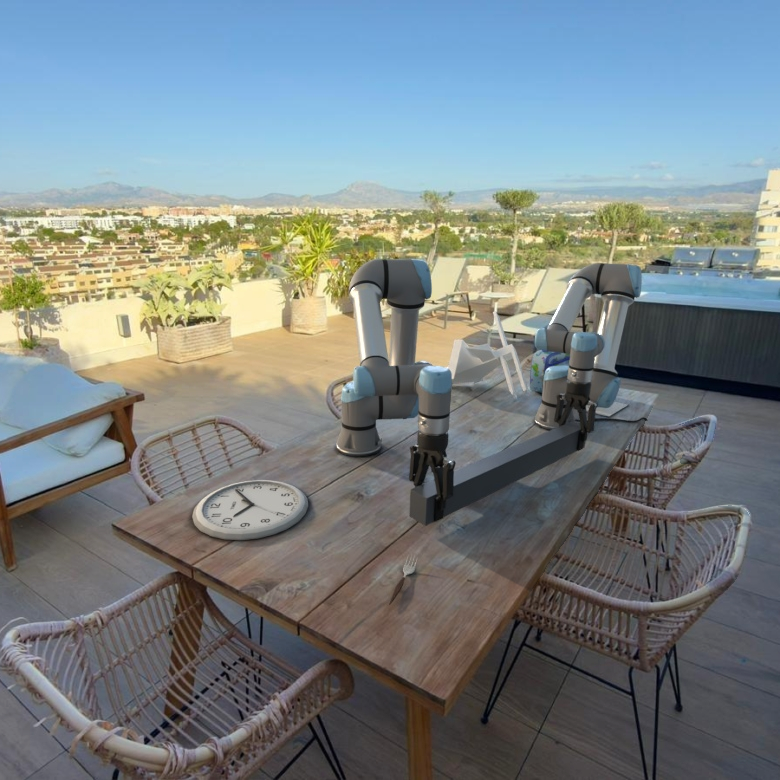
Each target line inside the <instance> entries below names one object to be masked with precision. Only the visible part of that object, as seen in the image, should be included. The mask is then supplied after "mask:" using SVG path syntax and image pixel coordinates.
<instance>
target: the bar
mask: <svg viewBox="0 0 780 780" xmlns="http://www.w3.org/2000/svg"><path fill="white" fill-rule="evenodd" d="M580 431H581V425H580V422H577V421H575V422H573V421H571V422H569V423H567V424H564V425H562V426H560V427H557V428H555V429H552V430H548V431H545V432H543V433H540V434H538V435H536V436H533V437H531V438H529V439H526V440H524V441H522V442H520V443H517V444H514V445H512V446H510V447H507V448H506V449H502V450H499V451H498V452H496V453H493V454H491V455H488V456H486V457H484V458H481V459H479V460H476V461H474V462H472V463H470V464H467V465H465V466H463V467H460V468H458V469H454V486H453V497H451V498H449V499H447V500H446V508H445V509H444V515H443V518H445V517H447V516H449V515H451V514H453V513H456V512H457V511H459V510H461V509H463V508H465V507H467V506H469V505H471V504H473V503H475V502H477V501H479V500H482V499H483V498H485V497H487V496H489V495H492V494H494V493H495V492H497V491H499V490H501V489H503V488H505V487H507V486H509V485H512V484H514V483H515V482H518V481H520V480H522V479H524V478H526V477H529V476H530V475H533V474H534V473H536V472H538V471H540V470H543V469H544V468H546V467H548V466H550V465H552V464H554V463H556V462H558V461H561V460H562V459H564V458H566V457H568V456H571V455H572V454H574V453H576V452H578V451H577V443H578V436H579V432H580ZM586 442H587V440H586V441H585V442H584V444H583V449H584V448H586ZM409 492H410V493H409V516H408V517H409V518H411V519H413V520H415V521H416V522H418V523H420V524H421V525H423V526H424V527H426V526H428V525H431V524H433V523H436V522H435V521H434V504H435V497H437V491H436V485H435V480H434V479H432V480H429V481H426V482H425V483H423V484H422V485H420V486H417V487H415V486H414V487H412V488H410V491H409Z"/></svg>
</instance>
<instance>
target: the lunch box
mask: <svg viewBox="0 0 780 780" xmlns="http://www.w3.org/2000/svg"><path fill="white" fill-rule="evenodd" d="M569 361H570V354H566V353H558V352H550V351H544V350H539V349H538V350H536V351H535V352H534V354H533V356H532V358H531V363H530V374H529V391H532V392H536V393H540V394H542V391H543V382H544V381H543V379H544V375H545V371H546V369H548V368H550V367H553V366H563V365H567V366H569Z"/></svg>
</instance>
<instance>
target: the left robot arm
mask: <svg viewBox="0 0 780 780" xmlns="http://www.w3.org/2000/svg"><path fill="white" fill-rule="evenodd" d="M431 275H432V274H431V269H430V267H429V264H428V263H427V262H426V261H425V260H424V259H415V258H374V259H370V260H368V261H366V262H365V263H363V264H362V265H360V267H358V269H357V270H356V271H355V272H354V273H353V275H352V277H351V280H350V282H349V286H348V299H349V302H350V304H351V305H352V306H353V313H354V324H355V332H356V333H355V334H356V342H357V343H356V344H357V351H358V361H359V362H358V363H359V366H355V367H354V368H353V370H352V372H353V373H352V381H351V382H348V383H346V384H345V385H343V387H342V388H341V397H340V402H341V428H340V431H339V435H338V437H337V440H336V450H337V451H338V453H340V454H342V455H344V456H347V457H354V458H364V457H369V456H373V455H376V454H377V453H379V452H380V451H381V449H382V442H383V438H380V436H379V432H378V429H377V421H379V420H380V421H381V420H407V419H414V418H416V417H417V429H418V430H417V436H416V437H417V438H416V441H417V442H416V444H413V445H410V446H409V452H410V460H409V461H410V462H409V472H408V473H409V474H408V480H409V481H410V482H413V485H414V488H415V487H417V486H420V485H422V484H424V483H426V481H425V480H426V477H427V473H428V471H429V467H430V471H431V473H432V474H433V478H434V479H433V480H435V485H436V491H437V497H435V504H434V521H435V522H434V523H437V522H439V521H441V520H442V519H444V517H443V515H444V509H445V508H446V500H447V499H449V498H451V497H453V486H454V471H455V468H456V465H457V463H456V461H455V460H454V459H453V460H450V459H449V458H448V455H447V448H448V446H449V437H450V434H449V431H450V415H451V400H452V388H453V384H452V373H451V371H450V370H449V369H448V368H446V367H445V366H441V365H433V364H432V363H431V362H429V361H426V360H419V361H416V355H417V343H418V342H417V341H418V332H419V331H418V330H419V328H418V327H419V316H420V310H422V309H423V308H424V307H425V305H426V304H425V303H426V300H429V299H431V297H432V293H433V286H432V276H431ZM382 300H386V304H387V306H388V307H389V308H390V309H391V311H390V312H391V313H390V329H389V330H390V332H389V350H388V347H387V341H386V332H385V328H384V327H385V326H384V320H383V314H382V307H381V306H382V305H381V302H382ZM388 351H389V352H388Z"/></svg>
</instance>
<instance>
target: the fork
mask: <svg viewBox="0 0 780 780" xmlns="http://www.w3.org/2000/svg"><path fill="white" fill-rule="evenodd" d="M415 556H416V555H414V556H413V554H411V555H410V554H408V555H407V558H406V560H405V563H404V565H403V568H402V572H403V576H402V578H401V579H400V581H398V583H397V584H396V586H395V588H394V591H393V593H392V596H391V598H390V600H389V603H388V605H389V606H391V605H392V603H393V602H394V600H395V599H396V597H397V596H398V594H399V593H400V592H401V590H402V588H403V585H404V583H405V580H406V577H407V576H409V575H411V574H413V573H415V571H416V567H417V562H418V559H419V556H416V557H415ZM409 557H410V558H409ZM412 557H413V560H412ZM415 558H416V559H415ZM411 561H412V562H411ZM414 562H415V563H414Z"/></svg>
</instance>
